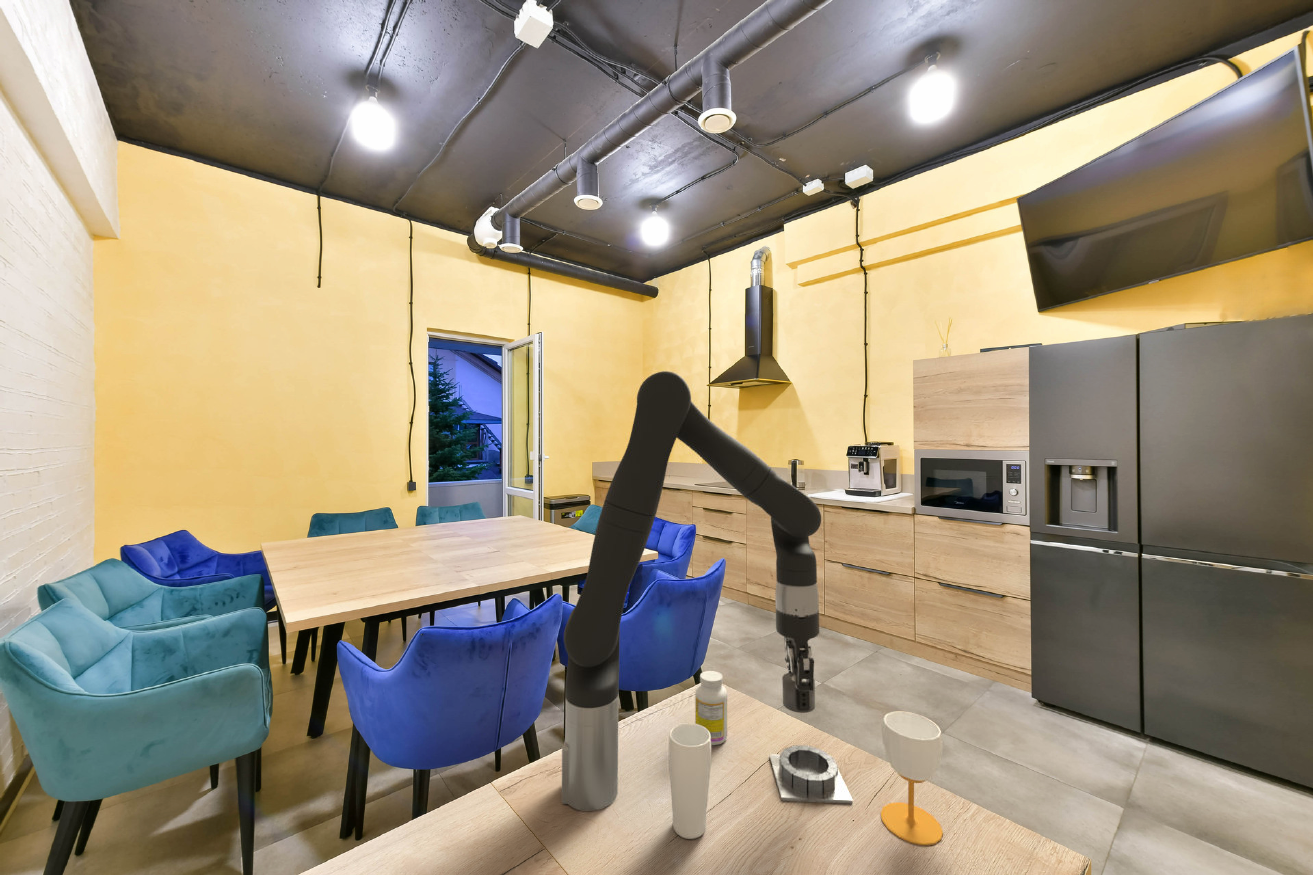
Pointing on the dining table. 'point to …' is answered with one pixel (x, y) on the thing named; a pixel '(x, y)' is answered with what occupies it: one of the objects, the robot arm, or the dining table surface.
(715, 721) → the supplement bottle
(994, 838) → the dining table surface
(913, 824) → the cup
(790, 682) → the cap
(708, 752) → the drinking glass
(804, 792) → the segmented ring on plate
